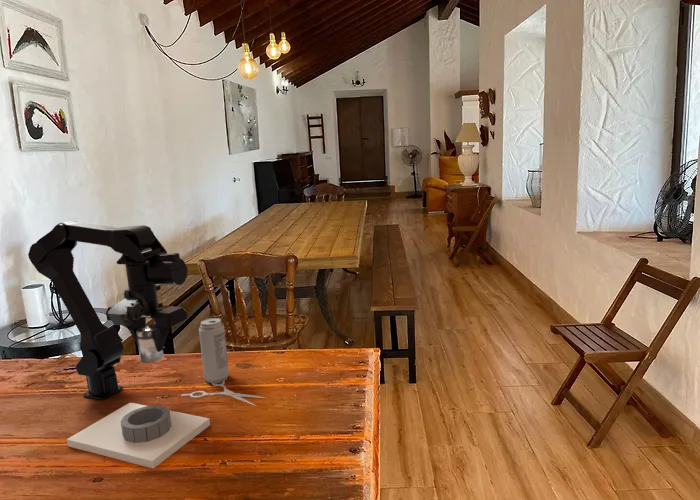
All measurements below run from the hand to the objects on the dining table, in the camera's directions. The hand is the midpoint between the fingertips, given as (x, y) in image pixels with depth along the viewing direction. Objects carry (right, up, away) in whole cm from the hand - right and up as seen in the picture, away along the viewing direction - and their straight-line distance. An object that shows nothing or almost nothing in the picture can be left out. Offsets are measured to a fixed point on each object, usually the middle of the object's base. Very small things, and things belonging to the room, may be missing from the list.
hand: (150, 349), depth 121 cm
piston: (0, -2, 0) cm, 2 cm away
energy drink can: (+12, -10, +12) cm, 19 cm away
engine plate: (+3, -15, -13) cm, 20 cm away
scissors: (+17, -11, +3) cm, 21 cm away
